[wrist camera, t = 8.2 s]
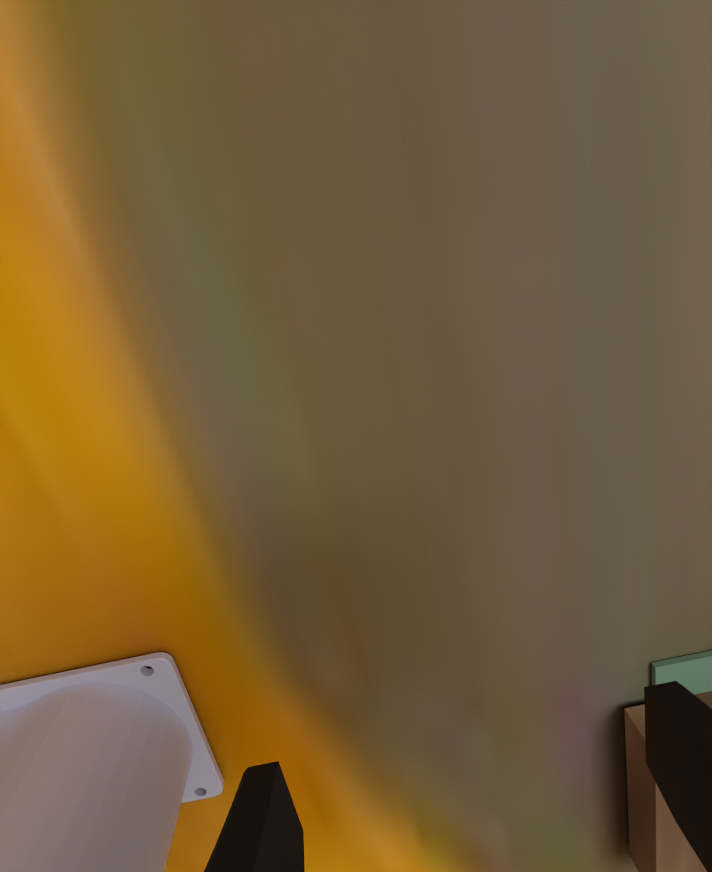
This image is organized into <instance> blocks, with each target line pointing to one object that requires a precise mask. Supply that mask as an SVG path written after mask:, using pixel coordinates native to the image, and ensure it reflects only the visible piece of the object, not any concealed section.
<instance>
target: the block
mask: <svg viewBox="0 0 712 872" xmlns="http://www.w3.org/2000/svg"><path fill="white" fill-rule="evenodd" d="M694 695H695V696H697V697H698V698H699V699H700V700H702V701H703V702H704V703H705V704H707V705H708V706H709V707H710V708H712V691H708V692H704V693H699V694H694ZM624 710H625V737H626V765H627V793H628V821H629V849H630V855H631V857H632V859H633V861H634V863H635V865H636V867H637V869H638V871H639V872H707V871H706V869H705V868H704V866H703V864H702V863H701V861H700V860H699V858H698V856H697V855H696V853H695V852H694V850H693V849H692V847H691V845H690V844H689V842H688V841H687V839H686V837H685V836H684V834H683V833H682V831H681V829H680V828H679V826H678V824H677V823H676V821H675V819H674V817H673V815H672V813H671V811H670V810H669V808H668V806H667V804H666V802H665V800H664V798H663V796H662V794H661V792H660V790H659V788H658V786H657V784H656V782H655V780H654V778H653V776H652V774H651V772H650V770H649V768H648V766H647V764H646V750H645V704H644V705H639V706H634V707H629V708H624Z"/></svg>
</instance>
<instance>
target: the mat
mask: <svg viewBox="0 0 712 872" xmlns="http://www.w3.org/2000/svg"><path fill="white" fill-rule="evenodd" d="M672 681H677V682H678V683H680V684H681V685H683V686H684V687H685V688H687V689H688V690H689V691H690V692H692V693H693V694H699V693H704V692H708V691H712V650H711V651H706V652H701V653H696V654H691V655H686V656H681V657H676V658H671V659H666V660H661V661H656V662H652V685H657V684H662V683H667V682H672Z"/></svg>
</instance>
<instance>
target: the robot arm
mask: <svg viewBox="0 0 712 872" xmlns="http://www.w3.org/2000/svg"><path fill="white" fill-rule="evenodd" d="M145 666H150V667H152V668H153V669H148V668H146V667H145ZM644 694H645V750H646V764H647V766H648V768H649V770H650V772H651V774H652V776H653V778H654V780H655V782H656V784H657V786H658V788H659V790H660V792H661V794H662V796H663V798H664V800H665V802H666V804H667V806H668V808H669V810H670V811H671V813H672V815H673V817H674V819H675V821H676V823H677V824H678V826H679V828H680V829H681V831H682V833H683V834H684V836H685V837H686V839H687V841H688V842H689V844H690V845H691V847H692V849H693V850H694V852H695V853H696V855H697V856H698V858H699V860H700V861H701V863H702V864H703V866H704V868H705V869H706V871H707V872H712V708H710V707H709V706H708V705H707V704H705V703H704V702H703V701H702V700H700V699H699V698H698V697H697V696H695V695H694V694H693V693H692V692H690V691H689V690H688V689H687V688H685V687H684V686H683V685H681V684H680V683H678V682H677V681H672V682H667V683H662V684H657V685H652V686H647V687H644ZM223 787H224V779H223V777H222V774H221V772H220V770H219V767H218V765H217V762H216V760H215V758H214V755H213V753H212V750H211V748H210V745H209V743H208V741H207V738H206V736H205V733H204V731H203V729H202V726H201V724H200V721H199V719H198V717H197V714H196V712H195V709H194V707H193V704H192V702H191V700H190V697H189V695H188V692H187V690H186V688H185V685H184V683H183V680H182V678H181V676H180V673H179V671H178V668H177V666H176V663H175V661H174V659H173V658H172V656H171V655H169V654H168V653H164V652H157V653H152V654H148V655H143V656H138V657H133V658H128V659H123V660H119V661H114V662H109V663H104V664H99V665H94V666H90V667H85V668H80V669H75V670H70V671H65V672H61V673H56V674H51V675H46V676H41V677H36V678H32V679H27V680H22V681H17V682H12V683H7V684H3V685H0V872H164V871H165V867H166V863H167V859H168V855H169V851H170V847H171V843H172V839H173V834H174V830H175V826H176V822H177V818H178V814H179V810H180V806H181V803H186V802H191V801H196V800H201V799H205V798H210V797H215V796H218V795H219V794H221V793H222V791H223ZM204 872H304V841H303V829H302V826H301V823H300V821H299V818H298V815H297V812H296V809H295V807H294V804H293V801H292V798H291V795H290V793H289V790H288V787H287V784H286V781H285V779H284V776H283V773H282V770H281V767H280V765H279V762H278V761H277V762H272V763H267V764H262V765H257V766H252V767H248V768H247V769H246V771H245V772H244V774H243V776H242V779H241V782H240V785H239V787H238V790H237V793H236V795H235V798H234V800H233V803H232V806H231V808H230V811H229V813H228V816H227V818H226V821H225V823H224V826H223V828H222V831H221V833H220V836H219V838H218V840H217V843H216V845H215V848H214V850H213V852H212V855H211V857H210V859H209V862H208V864H207V866H206V868H205V871H204Z"/></svg>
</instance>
